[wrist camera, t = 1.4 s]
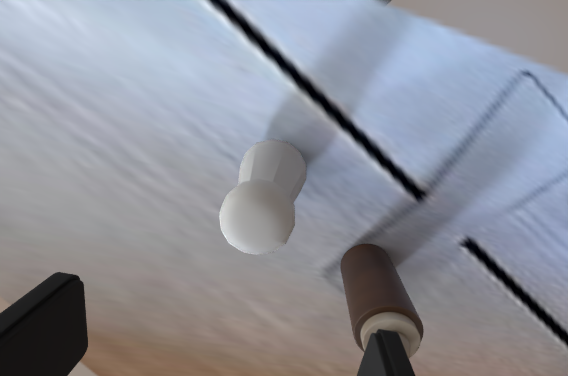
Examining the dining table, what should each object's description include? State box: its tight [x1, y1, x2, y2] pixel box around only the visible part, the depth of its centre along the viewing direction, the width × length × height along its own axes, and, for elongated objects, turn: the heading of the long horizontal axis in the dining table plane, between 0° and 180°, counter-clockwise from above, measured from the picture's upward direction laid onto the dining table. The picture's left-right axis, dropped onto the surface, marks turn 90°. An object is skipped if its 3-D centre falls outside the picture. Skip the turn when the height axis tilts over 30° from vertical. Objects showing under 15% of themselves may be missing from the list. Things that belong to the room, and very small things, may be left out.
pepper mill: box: [341, 244, 423, 359], centre depth 25 cm, size 5×5×11 cm
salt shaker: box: [219, 139, 306, 255], centre depth 22 cm, size 6×6×13 cm
